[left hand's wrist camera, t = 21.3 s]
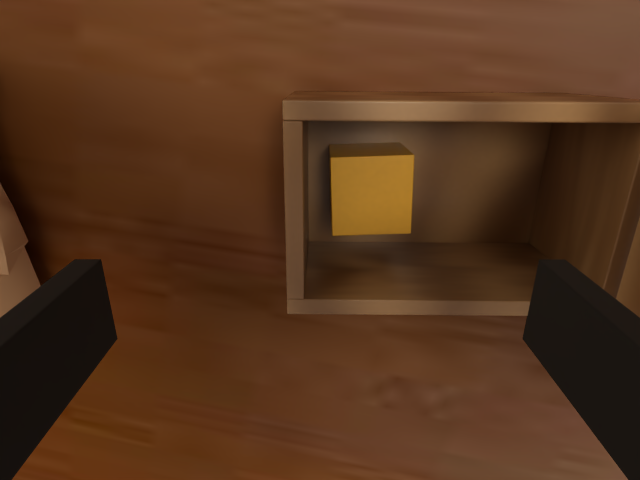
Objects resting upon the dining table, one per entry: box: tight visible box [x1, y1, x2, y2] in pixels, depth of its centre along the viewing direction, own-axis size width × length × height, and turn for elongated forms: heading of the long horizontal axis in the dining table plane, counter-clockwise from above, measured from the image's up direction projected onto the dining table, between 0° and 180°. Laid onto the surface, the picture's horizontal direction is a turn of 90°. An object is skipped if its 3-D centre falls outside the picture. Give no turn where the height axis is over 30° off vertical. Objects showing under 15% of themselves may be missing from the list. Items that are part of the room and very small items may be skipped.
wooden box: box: [282, 91, 640, 316], centre depth 25 cm, size 17×11×9 cm, turn 90°
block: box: [329, 142, 414, 236], centre depth 26 cm, size 4×4×4 cm
